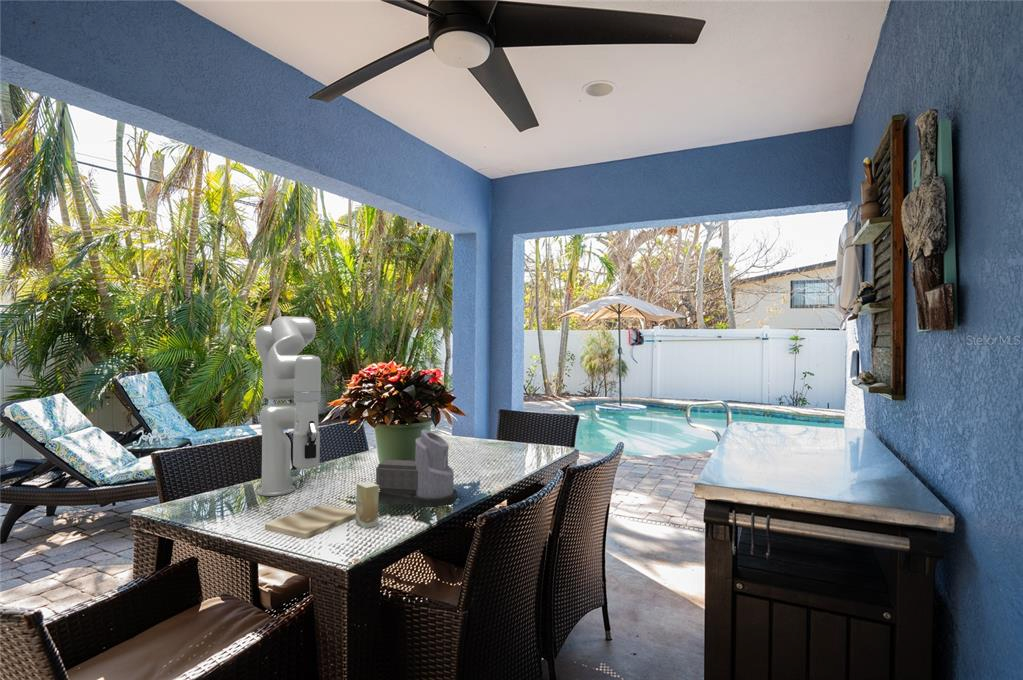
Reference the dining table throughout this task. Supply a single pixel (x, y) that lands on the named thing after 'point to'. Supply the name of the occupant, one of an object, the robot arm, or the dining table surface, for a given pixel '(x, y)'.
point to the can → (299, 452)
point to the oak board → (311, 521)
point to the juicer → (419, 475)
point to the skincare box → (367, 504)
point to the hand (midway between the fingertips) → (306, 455)
